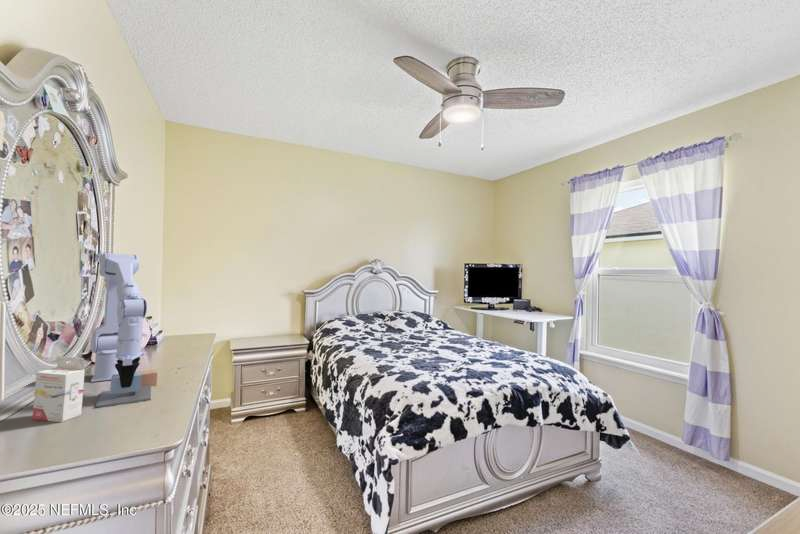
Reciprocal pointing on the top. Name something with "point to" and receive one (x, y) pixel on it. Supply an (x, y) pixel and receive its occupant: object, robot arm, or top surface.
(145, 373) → the upper brick
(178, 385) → the top surface
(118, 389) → the lower brick
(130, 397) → the baseplate
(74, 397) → the ink cartridge box
